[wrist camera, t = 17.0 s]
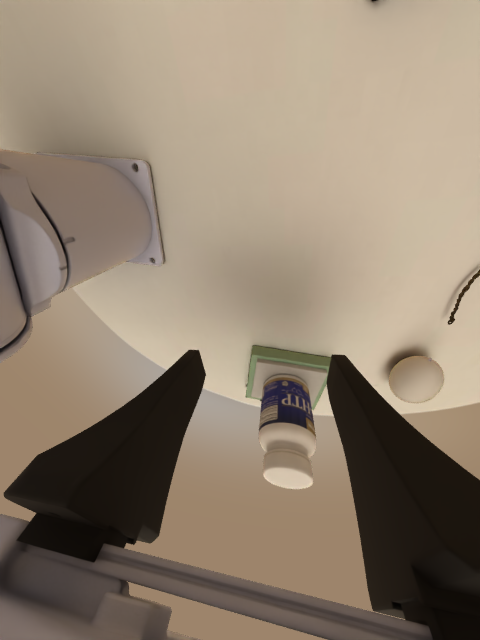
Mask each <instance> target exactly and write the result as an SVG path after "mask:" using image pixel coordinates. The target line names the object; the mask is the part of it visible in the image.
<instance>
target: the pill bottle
mask: <svg viewBox="0 0 480 640" xmlns="http://www.w3.org/2000/svg"><path fill="white" fill-rule="evenodd" d="M259 443H260V445H261V447H262V449H263V450H264V451H265V452H266V454H265V456H264V462H263V476H264V478H265V479H266V480H267V481H269V482H270V483H272V484H274V485H276V486H280V487H284V488H289V489H304V488H307V487H310V486H311V485H312V484H313V473H312V465H311V460H310V459H309V458H310V457H311V456H312V455H313V454H314V452H315V450H316V435H315V428H314V421H313V414H312V407H311V400H310V393H309V388H308V386H307V385H306V383H305V382H304V381H303V380H301V379H300V378H298V377H295V376H292V375H276V376H273V377H271V378H269V379H268V380H267V381H266V382H265V383H264V386H263V392H262V403H261V416H260V425H259Z"/></svg>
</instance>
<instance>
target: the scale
mask: <svg viewBox="0 0 480 640" xmlns="http://www.w3.org/2000/svg"><path fill="white" fill-rule="evenodd" d="M330 361H331V358H329V357H323V356H317V355H311V354H304V353H298V352H292V351H285V350H279V349H273V348H267V347H260V346H254V345H253V348H252V354H251V361H250V369H249V376H248V383H247V391H246V397H247V398H253V399H258V400H260V401H262V392H263V386H264V383H265V382H266V381H267V380H268V379H269V378H271V377H273V376H276V375H292V376H295V377H298V378H300V379H301V380H303V381H304V382H305V383H306V385H307V386H308V388H309V393H310V400H311V407H312V410H314V408H315V406H316V404H317V402H318V400H319V398H320V396H321V394H322V392H323V390H324V388H325V386H326V384H327V382H326V381H327V376H328V371H329V366H330Z"/></svg>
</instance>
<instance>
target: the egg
mask: <svg viewBox="0 0 480 640" xmlns="http://www.w3.org/2000/svg"><path fill="white" fill-rule="evenodd" d="M443 384H444V374H443V370H442V368H441V367H440V366H439V364H438V363H437V362H435V361H434V360H432V358H428V357H424V356H411V357H408V358H405V359H403V360H401V361H399V362H398V363H397V364H396V365H395V366H394V367H393V369H392V370H391V372H390V376H389V386H390V388H391V391H392V392H393V394H394V395H395V396H396V397H398V398H399V399H401V400H403V401H405V402H408V403H422V402H425V401H428V400H430V399H432V398H434V397H435V396H436V395H437V394H438V393H439V391H440V390H441V388H442V386H443Z"/></svg>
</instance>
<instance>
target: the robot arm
mask: <svg viewBox="0 0 480 640" xmlns="http://www.w3.org/2000/svg"><path fill="white" fill-rule="evenodd" d="M136 164H137V165H138V172H137V171H136V169H135V165H136ZM152 258H154V259H155V262H154V261H153V260H152ZM124 262H130V263H138V264H146V265H154V266H161V265H163V264H164V256H163V249H162V243H161V236H160V230H159V223H158V217H157V210H156V204H155V197H154V191H153V184H152V178H151V171H150V167H149V164H148V163H147V162H146V161H144V160H140V159H126V158H112V157H98V156H83V155H69V154H55V153H40V152H37V153H36V154H31V153H24V152H17V151H10V150H3V149H0V363H1V362H3V361H4V360H6V359H7V358H9V357H11V356H12V355H13V354H14V353H16V352H17V351H18V350H19V349H20V348H21V347H22V346H23V345H24V344H25V343H26V342H27V340H28V338H29V337H30V335H31V331H32V319H31V317H32V316H34V315H36V314H38V313H40V312H42V311H44V310H46V309H48V308H49V307H50V301H51V299H52V297H54V296H55V295H57V294H58V293H61V292H63V291H65V290H67V289H69V288H71V287H74V286H76V285H78V284H80V283H82V282H84V281H86V280H88V279H90V278H92V277H95V276H97V275H99V274H101V273H103V272H105V271H107V270H109V269H111V268H113V267H116V266H118V265H120V264H122V263H124ZM205 376H206V373H205V370H204V366H203V363H202V359H201V356H200V352H199V350H188V351H187V352H186V353H185V354H184V355H183V356H182V357H181V358H180V359H179V360H178V361H177V362H176V363H175V364H173V365H172V366H171V367H170V368H169V369H168V370H167V371H166V372H165V373H164V374H163V375H162V376H160V377H159V378H158V379H157V380H156V381H155V382H153V383H152V384H151V385H150V386H149V387H147V388H146V389H145V390H144V391H143V392H142V393H140V394H139V395H138V396H136V397H135V398H134V399H132V400H131V401H129V402H128V403H127V404H125V405H124V406H122V407H121V408H120V409H118V410H116V411H115V412H113V413H112V414H110V415H109V416H107V417H106V418H104V419H103V420H101V421H99V422H98V423H96V424H94V425H93V426H91V427H90V428H88V429H86V430H84V431H83V432H81V433H79V434H77V435H75V436H74V437H72V438H70V439H68V440H66V441H64V442H62V443H60V444H58V445H56V446H55V447H53V448H51V449H49V450H47V451H45V452H43V453H41V454H39V455H37V456H36V457H35V458H34V460H33V461H32V462H31V463H30V464H29V465H28V466H27V467H26V469H25V470H24V471H23V472H22V473H21V474H20V475H19V476H18V477H17V479H16V480H15V481H14V482H13V483H12V484H11V485H10V486H9V487H8V489H7V490H6V491H5V492H4V497H5V498H6V499H8V500H10V501H12V502H14V503H16V504H18V505H20V506H22V507H25V508H27V509H29V510H31V511H33V512H36V515H35V516H34V517H33V519H32V520H31V521H30V522H29V521H26V520H22V519H19V518H15V517H11V516H7V515H3V514H0V640H200V639H196V638H193V637H189V636H186V635H182V634H179V633H175V632H172V631H169V630H167V628H168V624H169V620H170V616H171V612H172V611H171V608H170V607H168V606H165V605H162V604H159V603H157V602H153V601H150V600H146V599H142V598H138V597H134V596H130V595H129V585H128V582H131V583H135V584H138V585H142V586H145V587H149V588H152V589H156V590H159V591H162V592H166V593H169V594H173V595H176V596H179V597H183V598H186V599H190V600H193V601H197V602H201V603H204V604H207V605H211V606H214V607H218V608H221V609H225V610H228V611H231V612H235V613H238V614H242V615H245V616H249V617H252V618H255V619H259V620H262V621H266V622H269V623H273V624H276V625H280V626H283V627H287V628H290V629H293V630H297V631H300V632H304V633H307V634H311V635H314V636H317V637H321V638H324V639H328V640H480V480H479V479H477V478H476V477H475V476H473V475H472V474H471V473H469V472H468V471H467V470H465V469H464V468H463V467H461V466H460V465H459V464H458V463H456V462H455V461H454V460H453V459H451V458H450V457H449V456H448V455H446V454H445V453H444V452H442V451H441V450H440V449H439V448H437V447H436V446H435V445H434V444H433V443H431V442H430V441H429V440H428V439H427V438H425V437H424V436H423V435H422V434H421V433H420V432H418V431H417V430H416V429H415V428H414V427H413V426H412V425H411V424H409V423H408V422H407V421H406V420H405V419H404V418H403V417H402V416H401V415H400V414H399V413H398V412H397V411H396V410H395V409H394V408H393V407H392V406H391V405H389V404H388V403H387V402H386V401H385V399H384V398H383V397H382V396H381V395H380V394H379V393H378V392H377V391H376V390H375V389H374V388H373V387H372V386H371V385H370V384H369V382H368V381H367V380H366V379H365V378H364V377H363V376H362V374H361V373H360V372H359V371H358V370H357V369H356V367H355V366H354V365H353V364H352V363H351V361H350V360H349V359H348V358H347V357H346V356H345V355H332V356H331V361H330V366H329V371H328V376H327V381H326V382H327V389H328V395H329V400H330V404H331V407H332V411H333V414H334V418H335V421H336V424H337V428H338V431H339V434H340V438H341V442H342V445H343V449H344V453H345V456H346V461H347V466H348V471H349V476H350V482H351V487H352V492H353V498H354V503H355V509H356V515H357V521H358V527H359V533H360V538H361V545H362V552H363V559H364V565H365V572H366V579H367V586H368V591H369V596H370V601H371V605H372V609H373V611H376V612H379V613H383V614H387V615H392V616H395V617H399V618H403V619H405V620H403V619H398V618H395V617H391V616H387V615H383V614H379V613H375V612H371V611H367V610H363V609H359V608H355V607H352V606H348V605H344V604H340V603H336V602H332V601H328V600H324V599H320V598H316V597H312V596H308V595H304V594H301V593H296V592H292V591H288V590H285V589H281V588H277V587H272V586H269V585H265V584H261V583H257V582H253V581H250V580H245V579H241V578H237V577H234V576H230V575H226V574H222V573H218V572H214V571H210V570H206V569H202V568H199V567H194V566H191V565H187V564H183V563H179V562H175V561H171V560H167V559H163V558H159V557H155V556H151V555H147V554H143V553H140V552H136V551H132V550H128V549H124V547H125V544H126V543H129V544H133V545H134V544H135V543H136V541H137V540H138V541H142V542H146V543H152V542H153V541H154V540H155V539H156V538H157V537H158V536H159V533H160V528H161V523H162V519H163V514H164V510H165V505H166V501H167V497H168V493H169V489H170V485H171V480H172V477H173V473H174V469H175V466H176V462H177V458H178V455H179V451H180V448H181V445H182V441H183V437H184V435H185V432H186V429H187V427H188V424H189V422H190V419H191V417H192V414H193V412H194V409H195V407H196V404H197V401H198V399H199V396H200V394H201V391H202V388H203V384H204V380H205ZM127 581H128V582H127Z"/></svg>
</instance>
